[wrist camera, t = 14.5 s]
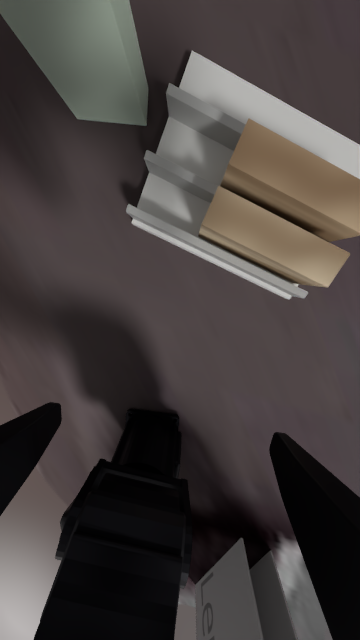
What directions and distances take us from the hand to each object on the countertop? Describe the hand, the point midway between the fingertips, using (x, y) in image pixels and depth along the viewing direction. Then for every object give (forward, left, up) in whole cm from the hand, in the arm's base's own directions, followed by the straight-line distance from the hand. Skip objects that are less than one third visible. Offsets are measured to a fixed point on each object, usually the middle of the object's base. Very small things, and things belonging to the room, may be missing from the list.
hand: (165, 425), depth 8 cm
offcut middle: (+7, +13, -12) cm, 19 cm away
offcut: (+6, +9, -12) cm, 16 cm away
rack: (+4, +13, -13) cm, 19 cm away
